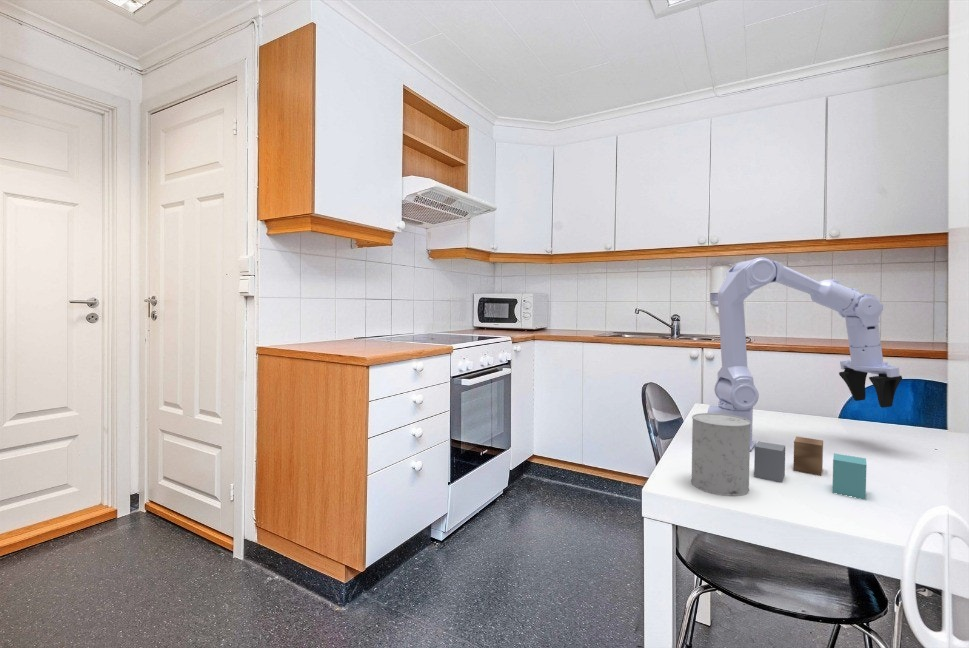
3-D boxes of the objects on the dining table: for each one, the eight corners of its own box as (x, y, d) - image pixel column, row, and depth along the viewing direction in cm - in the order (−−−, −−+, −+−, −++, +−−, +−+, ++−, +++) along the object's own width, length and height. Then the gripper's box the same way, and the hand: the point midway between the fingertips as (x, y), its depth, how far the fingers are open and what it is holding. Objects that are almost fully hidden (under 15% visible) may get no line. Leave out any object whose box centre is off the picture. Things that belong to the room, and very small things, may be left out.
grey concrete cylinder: (748, 500, 77) (749, 428, 77) (687, 488, 82) (688, 421, 82) (750, 482, 86) (751, 417, 85) (694, 472, 91) (695, 410, 90)
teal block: (832, 493, 81) (833, 459, 80) (833, 485, 84) (834, 453, 84) (865, 500, 78) (866, 465, 78) (865, 491, 81) (866, 458, 81)
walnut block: (793, 470, 92) (794, 441, 91) (795, 465, 95) (796, 436, 95) (821, 476, 89) (821, 445, 89) (822, 469, 92) (823, 440, 92)
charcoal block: (754, 477, 88) (754, 446, 88) (757, 471, 92) (758, 441, 91) (781, 483, 85) (782, 451, 85) (784, 476, 89) (785, 445, 89)
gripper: (910, 345, 98) (918, 407, 99) (857, 340, 113) (865, 395, 113) (877, 349, 99) (885, 411, 99) (828, 345, 113) (836, 399, 114)
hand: (872, 403), depth 106 cm, fingers open, 7 cm apart
